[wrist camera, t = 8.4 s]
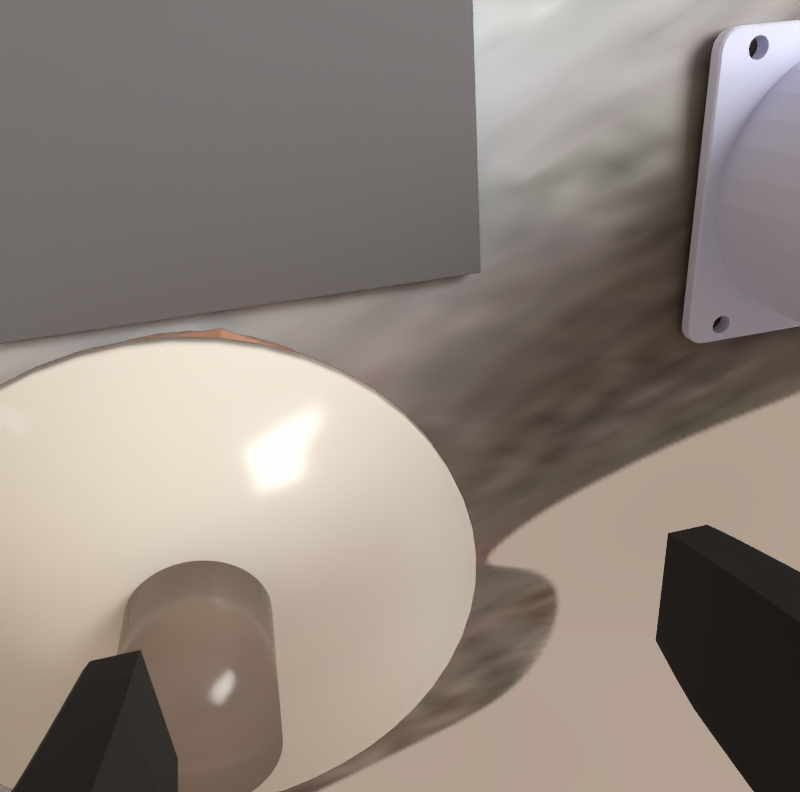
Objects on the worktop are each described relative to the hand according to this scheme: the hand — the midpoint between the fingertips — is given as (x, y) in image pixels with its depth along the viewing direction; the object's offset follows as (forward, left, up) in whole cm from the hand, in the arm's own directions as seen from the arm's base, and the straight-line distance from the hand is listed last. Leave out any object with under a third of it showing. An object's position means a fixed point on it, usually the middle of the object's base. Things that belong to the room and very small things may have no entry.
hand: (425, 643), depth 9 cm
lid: (+4, +4, -6) cm, 8 cm away
